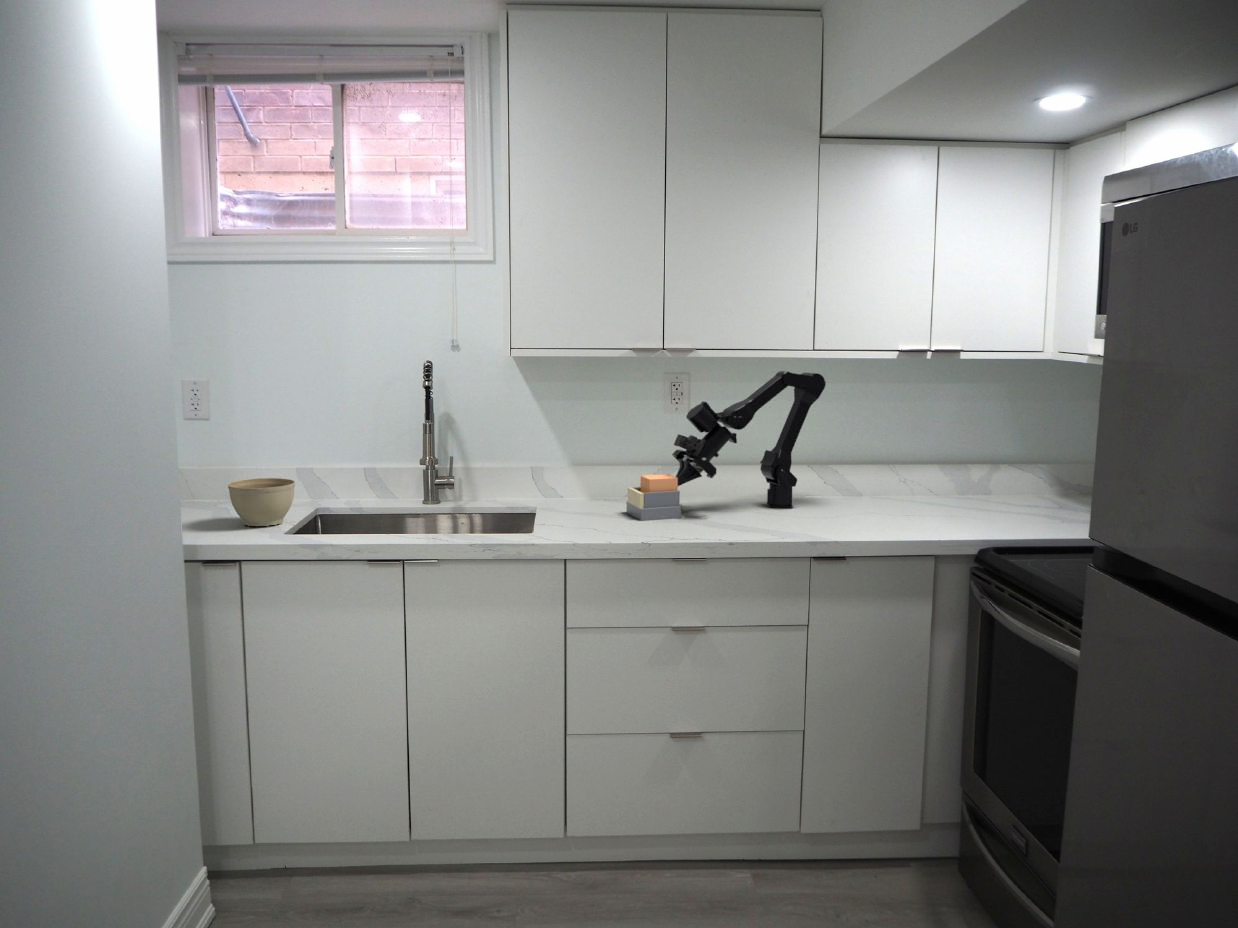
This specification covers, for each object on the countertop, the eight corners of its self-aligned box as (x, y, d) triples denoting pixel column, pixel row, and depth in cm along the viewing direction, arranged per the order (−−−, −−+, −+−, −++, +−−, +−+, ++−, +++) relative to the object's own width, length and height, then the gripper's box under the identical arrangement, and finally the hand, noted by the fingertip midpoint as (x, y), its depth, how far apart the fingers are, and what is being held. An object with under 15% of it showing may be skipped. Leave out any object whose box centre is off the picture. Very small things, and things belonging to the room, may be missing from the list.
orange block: (667, 499, 256) (667, 474, 255) (677, 503, 250) (677, 477, 249) (640, 500, 254) (640, 475, 253) (649, 505, 247) (649, 479, 246)
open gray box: (664, 509, 259) (664, 484, 258) (680, 517, 248) (681, 491, 247) (626, 512, 256) (626, 486, 255) (641, 520, 244) (641, 494, 243)
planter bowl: (257, 533, 230) (254, 490, 228) (217, 526, 238) (214, 484, 237) (310, 522, 243) (308, 481, 241) (270, 515, 252) (268, 475, 250)
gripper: (679, 420, 261) (642, 461, 259) (706, 427, 243) (666, 471, 241) (704, 447, 264) (668, 487, 262) (733, 456, 247) (694, 499, 245)
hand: (673, 486), depth 253 cm, fingers closed, pressing on orange block
